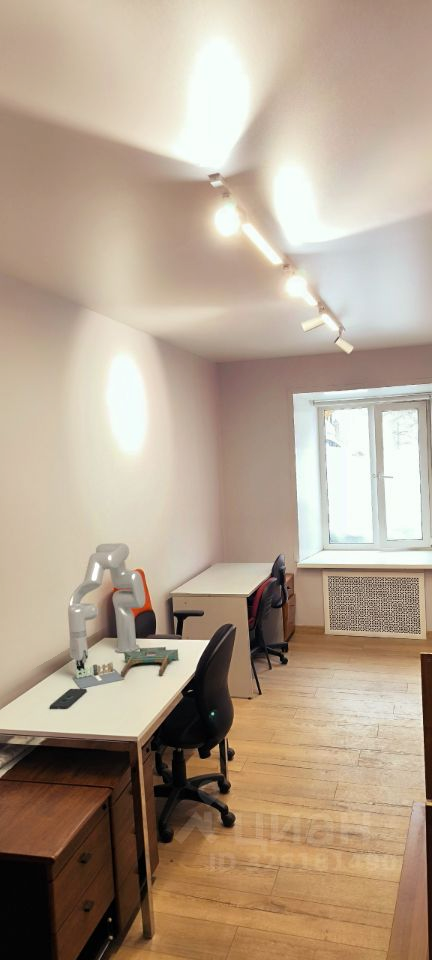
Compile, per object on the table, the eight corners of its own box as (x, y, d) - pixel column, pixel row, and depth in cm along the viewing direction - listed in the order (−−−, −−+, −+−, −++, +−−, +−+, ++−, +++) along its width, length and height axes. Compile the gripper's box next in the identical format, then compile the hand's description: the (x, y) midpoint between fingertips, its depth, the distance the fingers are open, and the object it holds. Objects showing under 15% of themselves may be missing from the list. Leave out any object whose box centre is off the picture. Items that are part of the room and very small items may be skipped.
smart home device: (48, 705, 254) (69, 688, 273) (48, 710, 254) (69, 692, 273) (67, 706, 252) (87, 688, 272) (68, 710, 252) (87, 692, 272)
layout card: (72, 678, 291) (72, 677, 291) (114, 669, 299) (114, 668, 299) (80, 688, 275) (80, 687, 275) (124, 679, 283) (124, 678, 283)
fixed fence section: (94, 675, 290) (93, 666, 290) (93, 674, 292) (92, 665, 292) (113, 671, 294) (113, 662, 294) (112, 670, 295) (112, 661, 295)
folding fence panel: (92, 674, 291) (92, 666, 291) (93, 675, 290) (92, 667, 290) (76, 677, 288) (75, 669, 288) (76, 678, 287) (76, 670, 287)
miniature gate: (111, 668, 286) (127, 646, 316) (113, 680, 286) (128, 657, 316) (170, 666, 283) (180, 644, 313) (171, 678, 284) (181, 655, 314)
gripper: (63, 633, 294) (66, 672, 295) (77, 638, 283) (81, 679, 283) (78, 630, 299) (81, 668, 299) (92, 635, 287) (96, 674, 288)
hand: (81, 673), depth 291 cm, fingers closed
